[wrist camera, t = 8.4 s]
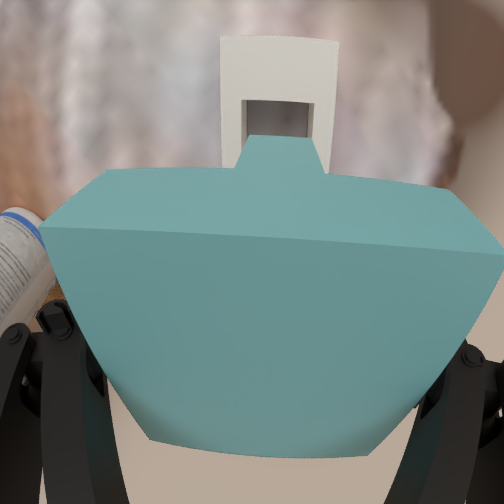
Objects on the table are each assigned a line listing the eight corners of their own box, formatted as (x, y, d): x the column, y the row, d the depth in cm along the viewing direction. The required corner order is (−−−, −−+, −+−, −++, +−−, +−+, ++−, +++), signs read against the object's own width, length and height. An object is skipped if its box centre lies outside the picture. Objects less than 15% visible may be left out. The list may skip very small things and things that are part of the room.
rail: (232, 278, 25) (227, 303, 23) (229, 40, 15) (220, 36, 13) (306, 282, 25) (308, 308, 23) (330, 44, 15) (338, 41, 12)
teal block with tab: (189, 310, 17) (149, 439, 10) (168, 128, 11) (38, 226, 5) (349, 320, 16) (367, 455, 10) (392, 140, 11) (509, 255, 4)
